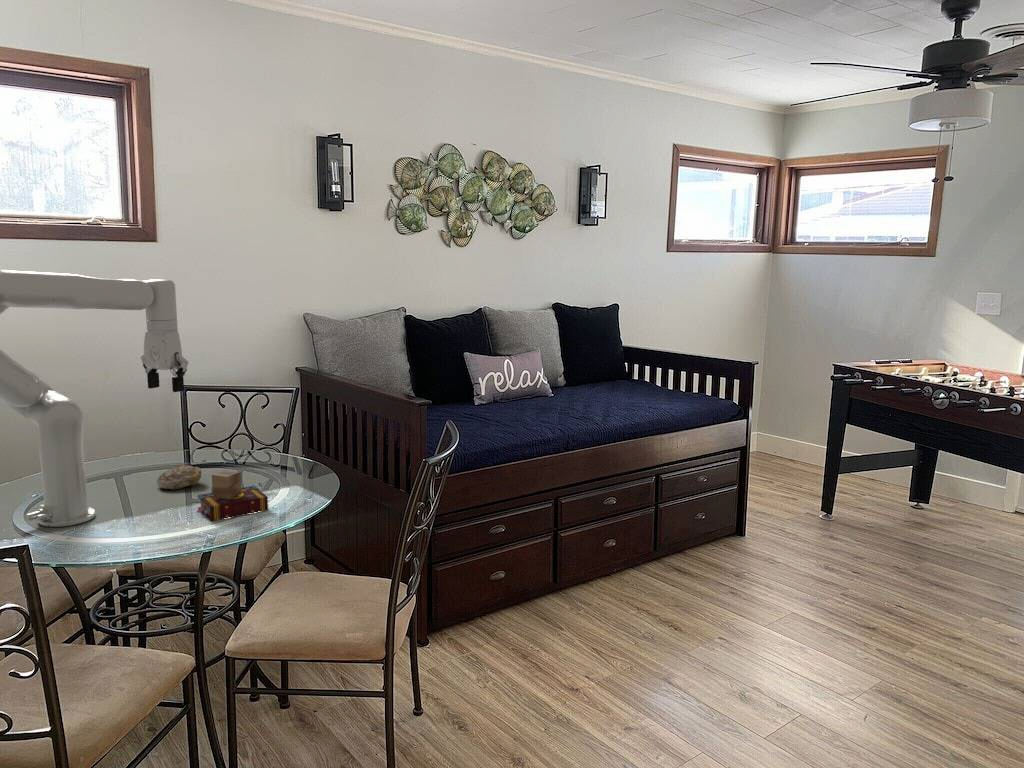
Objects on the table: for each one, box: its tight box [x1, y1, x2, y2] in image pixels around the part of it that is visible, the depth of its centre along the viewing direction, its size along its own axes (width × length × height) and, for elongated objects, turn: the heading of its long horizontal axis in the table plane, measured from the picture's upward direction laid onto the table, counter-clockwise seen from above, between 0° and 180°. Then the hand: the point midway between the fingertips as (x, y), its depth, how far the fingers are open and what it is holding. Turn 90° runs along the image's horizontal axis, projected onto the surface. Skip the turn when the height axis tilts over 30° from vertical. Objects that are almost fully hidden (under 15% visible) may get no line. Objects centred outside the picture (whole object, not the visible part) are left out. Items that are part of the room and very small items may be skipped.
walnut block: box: [211, 469, 242, 499], centre depth 205 cm, size 5×5×6 cm
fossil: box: [156, 463, 202, 491], centre depth 228 cm, size 12×8×10 cm
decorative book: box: [196, 485, 269, 522], centre depth 207 cm, size 11×16×5 cm
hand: (166, 389), depth 212 cm, fingers open, 9 cm apart
